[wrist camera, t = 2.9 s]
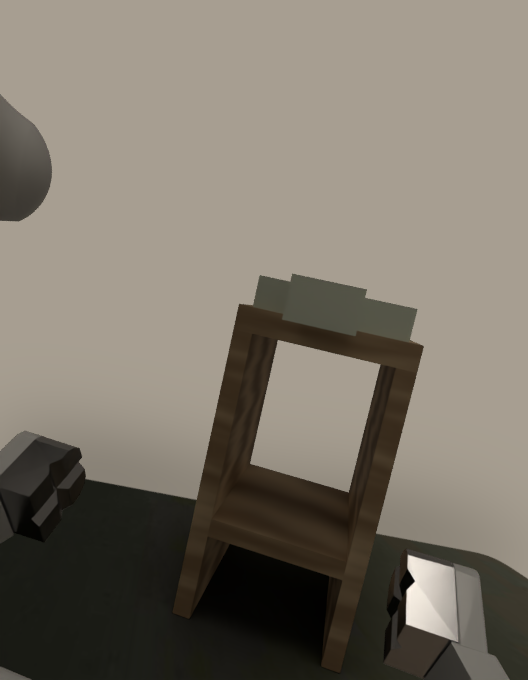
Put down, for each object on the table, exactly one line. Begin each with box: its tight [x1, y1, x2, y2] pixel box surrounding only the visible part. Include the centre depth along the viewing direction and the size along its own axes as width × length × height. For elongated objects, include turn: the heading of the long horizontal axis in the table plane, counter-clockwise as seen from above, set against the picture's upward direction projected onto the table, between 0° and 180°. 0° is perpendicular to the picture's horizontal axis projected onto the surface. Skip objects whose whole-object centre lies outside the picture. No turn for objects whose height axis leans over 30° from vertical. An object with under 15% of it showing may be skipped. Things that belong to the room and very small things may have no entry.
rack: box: [172, 304, 424, 673], centre depth 42 cm, size 14×14×29 cm
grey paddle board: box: [253, 274, 417, 342], centre depth 35 cm, size 22×12×2 cm, turn 168°
